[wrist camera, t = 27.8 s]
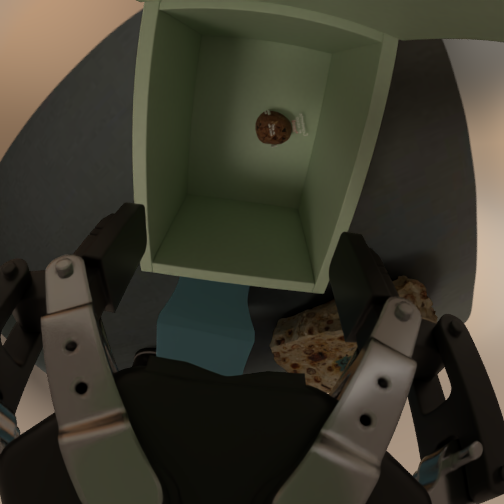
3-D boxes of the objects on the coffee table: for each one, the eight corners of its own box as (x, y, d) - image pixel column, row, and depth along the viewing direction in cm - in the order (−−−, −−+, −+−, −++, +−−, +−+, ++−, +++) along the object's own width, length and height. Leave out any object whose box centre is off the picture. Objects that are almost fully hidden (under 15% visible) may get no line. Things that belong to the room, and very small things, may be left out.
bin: (303, 213, 26) (323, 294, 17) (180, 197, 26) (140, 270, 17) (340, 49, 17) (399, 34, 8) (195, 28, 16) (144, -3, 8)
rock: (314, 363, 42) (306, 414, 34) (264, 300, 39) (243, 352, 30) (435, 316, 33) (452, 369, 24) (404, 233, 29) (426, 280, 21)
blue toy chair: (240, 313, 34) (228, 477, 18) (177, 300, 33) (137, 460, 17) (256, 264, 30) (250, 464, 14) (183, 248, 29) (123, 440, 13)
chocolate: (250, 112, 19) (305, 103, 18) (251, 112, 20) (301, 104, 20) (258, 151, 20) (312, 142, 19) (259, 147, 22) (307, 139, 21)
